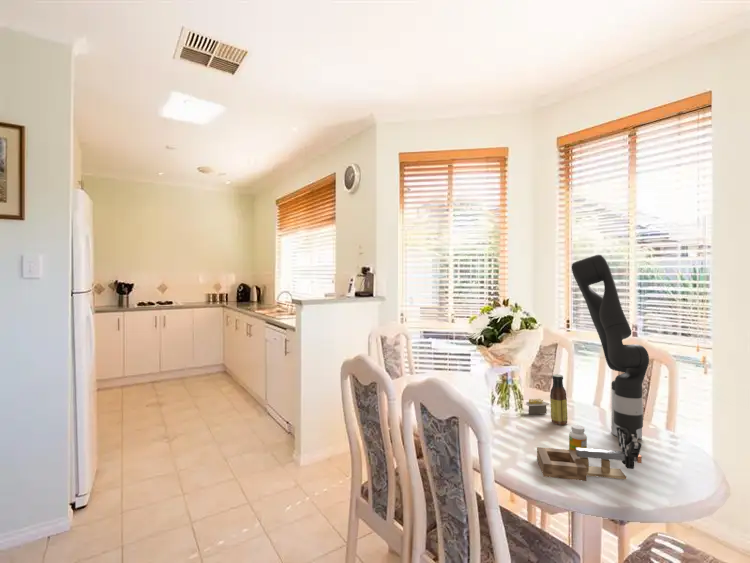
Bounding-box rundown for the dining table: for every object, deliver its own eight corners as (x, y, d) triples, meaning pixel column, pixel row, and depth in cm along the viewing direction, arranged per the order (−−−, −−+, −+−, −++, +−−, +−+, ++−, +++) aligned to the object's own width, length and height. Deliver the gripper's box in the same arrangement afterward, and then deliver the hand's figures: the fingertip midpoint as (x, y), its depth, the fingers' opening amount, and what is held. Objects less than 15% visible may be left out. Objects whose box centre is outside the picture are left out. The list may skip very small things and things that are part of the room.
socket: (576, 462, 131) (576, 450, 131) (586, 481, 119) (586, 467, 119) (537, 458, 134) (537, 447, 134) (543, 476, 122) (543, 463, 122)
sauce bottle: (564, 420, 168) (564, 373, 168) (570, 425, 162) (569, 377, 162) (548, 419, 169) (548, 373, 169) (553, 425, 163) (553, 377, 162)
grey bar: (636, 457, 123) (636, 451, 123) (641, 463, 120) (641, 456, 120) (575, 452, 127) (575, 446, 127) (577, 457, 124) (577, 451, 124)
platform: (511, 410, 183) (511, 396, 182) (549, 409, 184) (549, 394, 184) (522, 419, 171) (522, 404, 171) (563, 418, 172) (563, 403, 172)
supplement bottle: (565, 453, 138) (565, 425, 138) (576, 450, 140) (576, 422, 140) (579, 459, 133) (579, 430, 133) (590, 456, 135) (590, 428, 135)
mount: (620, 471, 125) (620, 457, 125) (626, 479, 120) (626, 464, 120) (578, 467, 128) (578, 453, 128) (583, 475, 123) (583, 461, 123)
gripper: (652, 418, 114) (651, 478, 115) (633, 403, 128) (633, 457, 128) (622, 416, 116) (622, 475, 116) (607, 402, 129) (607, 454, 130)
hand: (628, 465), depth 122 cm, fingers closed on grey bar, 2 cm apart
